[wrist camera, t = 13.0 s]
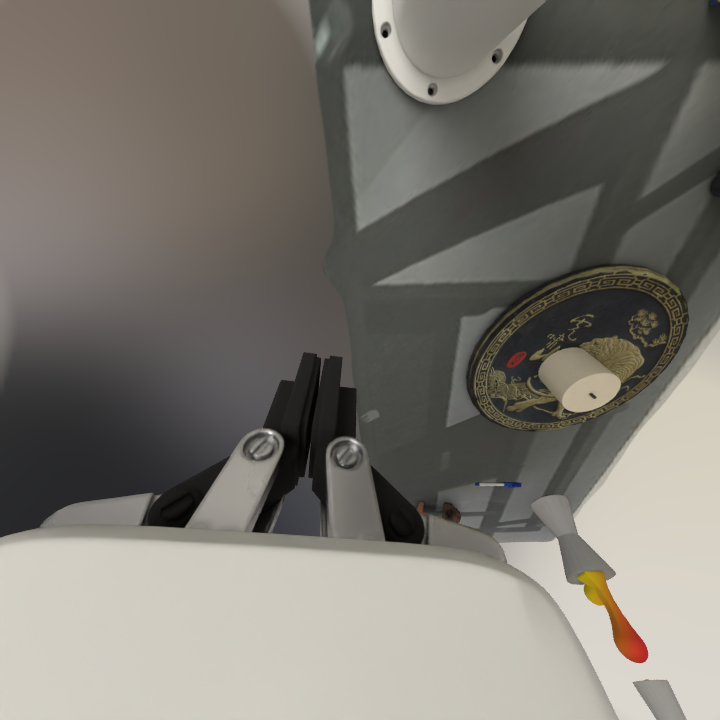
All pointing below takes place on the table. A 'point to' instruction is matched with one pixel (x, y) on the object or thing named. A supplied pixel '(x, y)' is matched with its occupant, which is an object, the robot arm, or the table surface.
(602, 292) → the decorative plate
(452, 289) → the table surface
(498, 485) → the ballpoint pen
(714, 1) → the supplement box
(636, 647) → the lava lamp
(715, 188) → the two-way radio
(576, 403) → the candle
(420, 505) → the pottery mug
